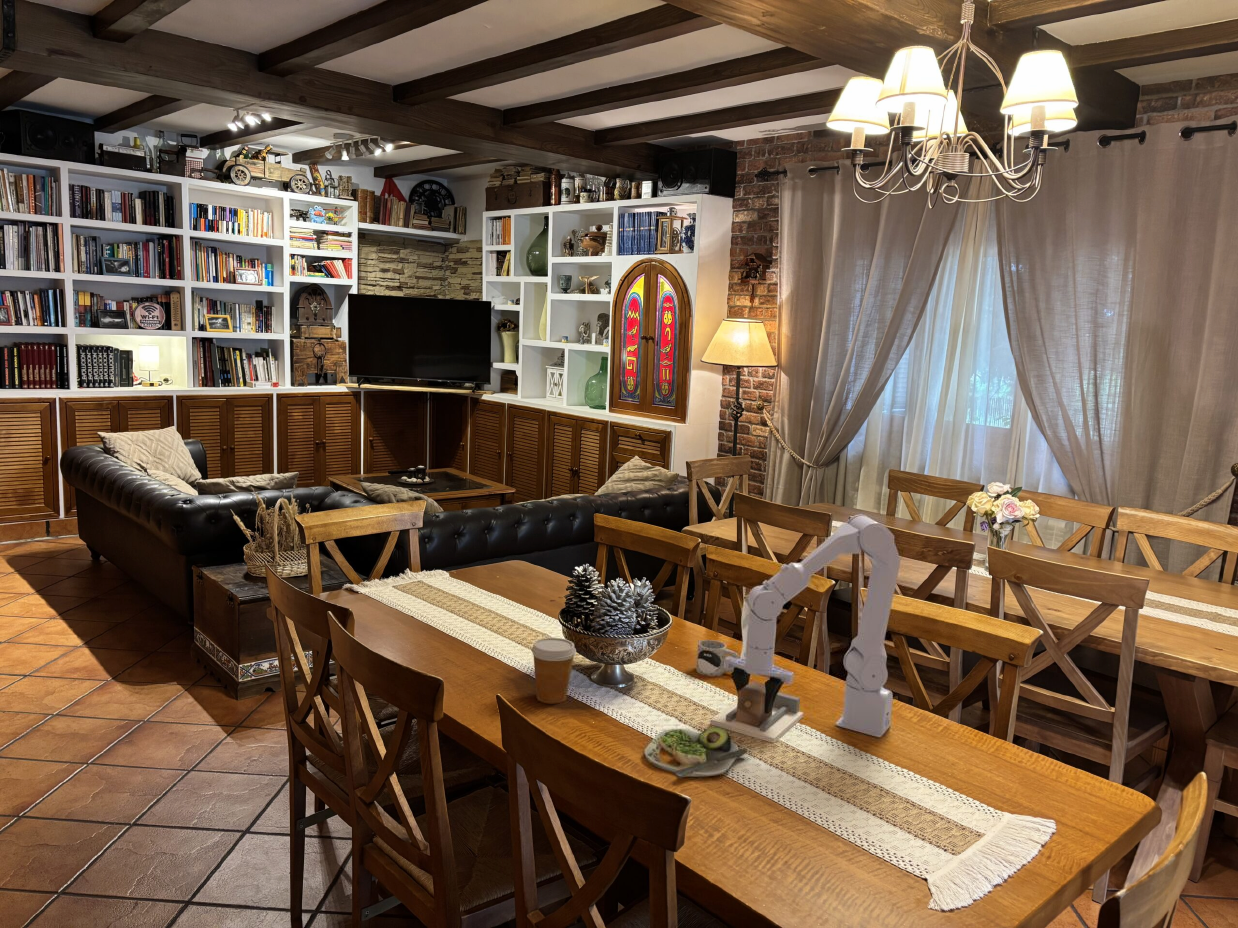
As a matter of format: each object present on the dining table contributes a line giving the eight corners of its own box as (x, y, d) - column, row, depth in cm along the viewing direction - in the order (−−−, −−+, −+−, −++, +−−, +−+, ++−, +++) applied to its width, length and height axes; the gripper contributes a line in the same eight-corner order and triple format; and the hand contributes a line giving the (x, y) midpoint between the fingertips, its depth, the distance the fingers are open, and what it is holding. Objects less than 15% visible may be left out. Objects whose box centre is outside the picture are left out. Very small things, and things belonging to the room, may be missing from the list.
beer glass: (734, 660, 226) (738, 601, 224) (743, 652, 232) (748, 595, 230) (761, 666, 223) (766, 607, 220) (770, 658, 229) (775, 600, 227)
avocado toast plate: (721, 796, 158) (723, 771, 158) (627, 771, 165) (628, 747, 165) (752, 753, 176) (754, 730, 175) (666, 732, 183) (667, 710, 182)
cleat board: (802, 717, 193) (804, 699, 193) (773, 743, 180) (775, 723, 179) (742, 700, 201) (743, 682, 200) (710, 723, 187) (711, 705, 186)
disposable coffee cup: (522, 692, 198) (525, 639, 196) (562, 687, 202) (565, 635, 200) (539, 709, 189) (542, 654, 188) (580, 703, 194) (583, 649, 192)
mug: (693, 673, 215) (695, 646, 214) (699, 664, 222) (701, 638, 221) (734, 680, 212) (736, 653, 211) (740, 671, 218) (742, 644, 218)
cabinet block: (771, 716, 190) (774, 686, 189) (757, 729, 183) (759, 698, 183) (749, 710, 193) (752, 681, 192) (734, 722, 186) (736, 692, 185)
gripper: (719, 641, 187) (715, 705, 189) (786, 658, 179) (781, 723, 181) (734, 633, 193) (729, 694, 195) (799, 649, 185) (793, 712, 187)
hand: (755, 708), depth 188 cm, fingers closed on cabinet block, 5 cm apart
